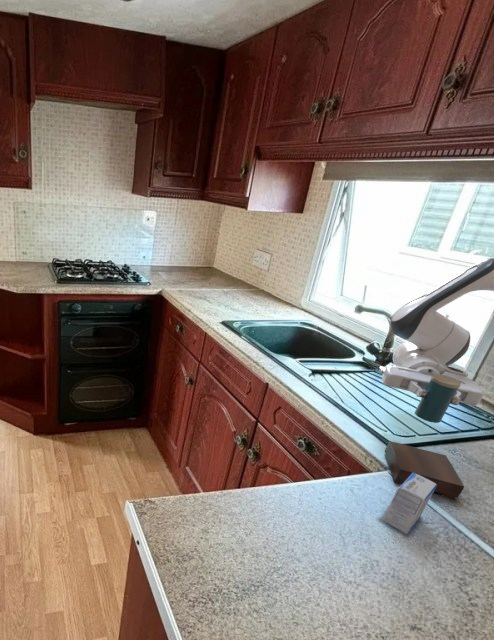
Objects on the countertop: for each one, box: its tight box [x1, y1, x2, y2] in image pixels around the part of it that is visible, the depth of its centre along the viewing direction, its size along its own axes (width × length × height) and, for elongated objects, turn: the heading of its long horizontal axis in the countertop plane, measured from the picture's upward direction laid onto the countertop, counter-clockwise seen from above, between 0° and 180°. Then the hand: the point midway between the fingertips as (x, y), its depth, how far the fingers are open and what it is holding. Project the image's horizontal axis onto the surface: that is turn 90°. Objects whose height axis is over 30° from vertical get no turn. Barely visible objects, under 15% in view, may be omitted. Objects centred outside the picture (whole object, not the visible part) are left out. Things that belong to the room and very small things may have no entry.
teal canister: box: [414, 374, 461, 424], centre depth 93 cm, size 5×5×10 cm
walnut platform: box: [384, 440, 465, 500], centre depth 93 cm, size 12×12×4 cm
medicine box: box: [382, 473, 437, 535], centre depth 78 cm, size 8×4×9 cm, turn 129°
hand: (439, 398), depth 92 cm, fingers closed on teal canister, 5 cm apart
